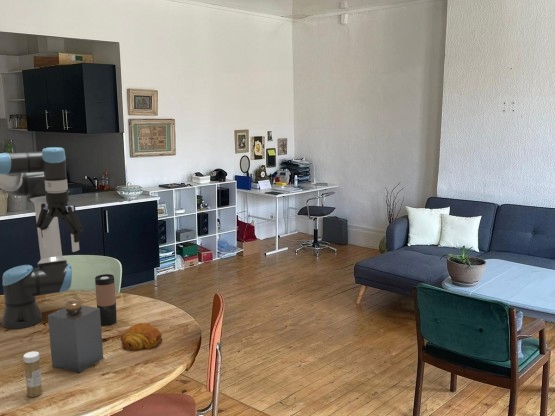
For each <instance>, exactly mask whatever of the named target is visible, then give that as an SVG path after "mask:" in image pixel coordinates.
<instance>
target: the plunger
mask: <svg viewBox="0 0 555 416" xmlns="http://www.w3.org/2000/svg"><path fill="white" fill-rule="evenodd" d="M81 305H82V301H81V300H71V301H68V302H67V301H66V303H65V307H66V311H67V312H72V313H73V314H75V313H76V312H77V311H80V310H81V309H82V308H81Z"/></svg>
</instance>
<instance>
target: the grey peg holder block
mask: <svg viewBox="0 0 555 416" xmlns="http://www.w3.org/2000/svg"><path fill="white" fill-rule="evenodd" d="M81 308H82V309H81V310H80V311H77V312H76V313H75V314H73V313H72V312H67V311H66V306H65V307H63V308H60V309H59V310H58V309H57V310H56V311H54V312H52V313H50V314H48V315H47V322H48V333H49V334H48V335H49V342H50V355H51V366H52V368H55V369H60V370H63V371H68V372H72V373H77V374H81V373H82V372H84V371H85V370H88V368H90V367H92V366H93V365H95V364H97V363H98V362H101V361H102V360H104V351H103V337H102V336H103V335H102V326H101V319H100V308H97V306H96V307H94V306H89V305H83V304H81Z"/></svg>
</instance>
